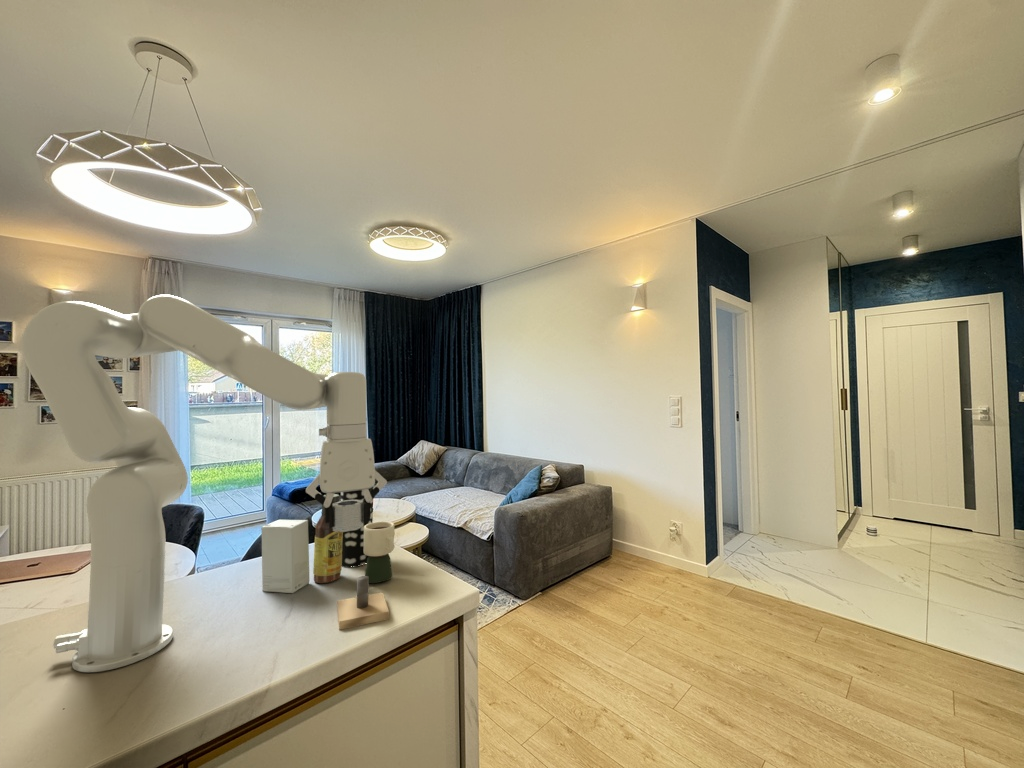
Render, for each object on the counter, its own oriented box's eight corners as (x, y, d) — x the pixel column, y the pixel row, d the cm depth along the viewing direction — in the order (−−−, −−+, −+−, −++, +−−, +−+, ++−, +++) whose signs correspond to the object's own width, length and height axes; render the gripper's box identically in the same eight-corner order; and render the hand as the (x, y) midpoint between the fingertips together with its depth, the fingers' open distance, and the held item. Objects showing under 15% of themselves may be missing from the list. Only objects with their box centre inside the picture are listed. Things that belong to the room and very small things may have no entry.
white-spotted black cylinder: (377, 561, 111) (378, 486, 112) (347, 570, 105) (349, 490, 106) (363, 553, 117) (364, 482, 118) (333, 561, 111) (335, 486, 112)
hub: (333, 533, 79) (332, 508, 79) (332, 525, 84) (332, 501, 84) (364, 528, 81) (363, 504, 81) (361, 521, 86) (361, 498, 87)
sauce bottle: (330, 585, 96) (332, 499, 97) (307, 583, 97) (309, 498, 98) (347, 574, 102) (349, 493, 103) (324, 572, 103) (326, 492, 104)
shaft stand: (339, 629, 77) (339, 591, 78) (337, 608, 85) (337, 573, 86) (388, 619, 81) (389, 582, 81) (382, 599, 89) (382, 566, 90)
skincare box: (309, 583, 97) (311, 519, 98) (291, 595, 91) (293, 526, 92) (278, 580, 99) (280, 517, 99) (258, 591, 93) (260, 524, 93)
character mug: (404, 581, 98) (405, 526, 99) (378, 592, 93) (379, 533, 93) (378, 569, 105) (379, 518, 106) (352, 579, 100) (353, 524, 100)
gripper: (298, 437, 76) (299, 536, 76) (393, 431, 84) (395, 522, 83) (300, 434, 83) (301, 525, 83) (388, 429, 90) (389, 513, 90)
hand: (348, 522), depth 83 cm, fingers closed on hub, 5 cm apart
